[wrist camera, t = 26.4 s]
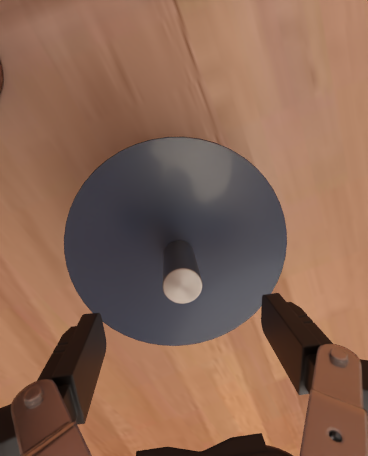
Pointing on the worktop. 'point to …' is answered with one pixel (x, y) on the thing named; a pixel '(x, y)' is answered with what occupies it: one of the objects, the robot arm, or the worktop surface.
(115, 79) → the worktop surface
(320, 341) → the robot arm
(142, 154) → the tin lid
